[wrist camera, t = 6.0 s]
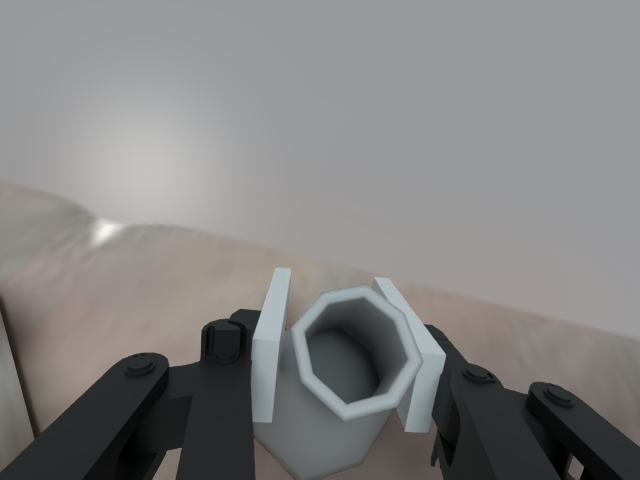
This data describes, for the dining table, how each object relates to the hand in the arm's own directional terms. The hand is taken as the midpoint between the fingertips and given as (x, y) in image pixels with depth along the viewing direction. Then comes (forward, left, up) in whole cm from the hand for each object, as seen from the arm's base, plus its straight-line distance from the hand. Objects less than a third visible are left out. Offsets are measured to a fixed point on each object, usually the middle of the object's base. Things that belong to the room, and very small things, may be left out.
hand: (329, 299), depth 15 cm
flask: (-3, +2, -4) cm, 5 cm away
